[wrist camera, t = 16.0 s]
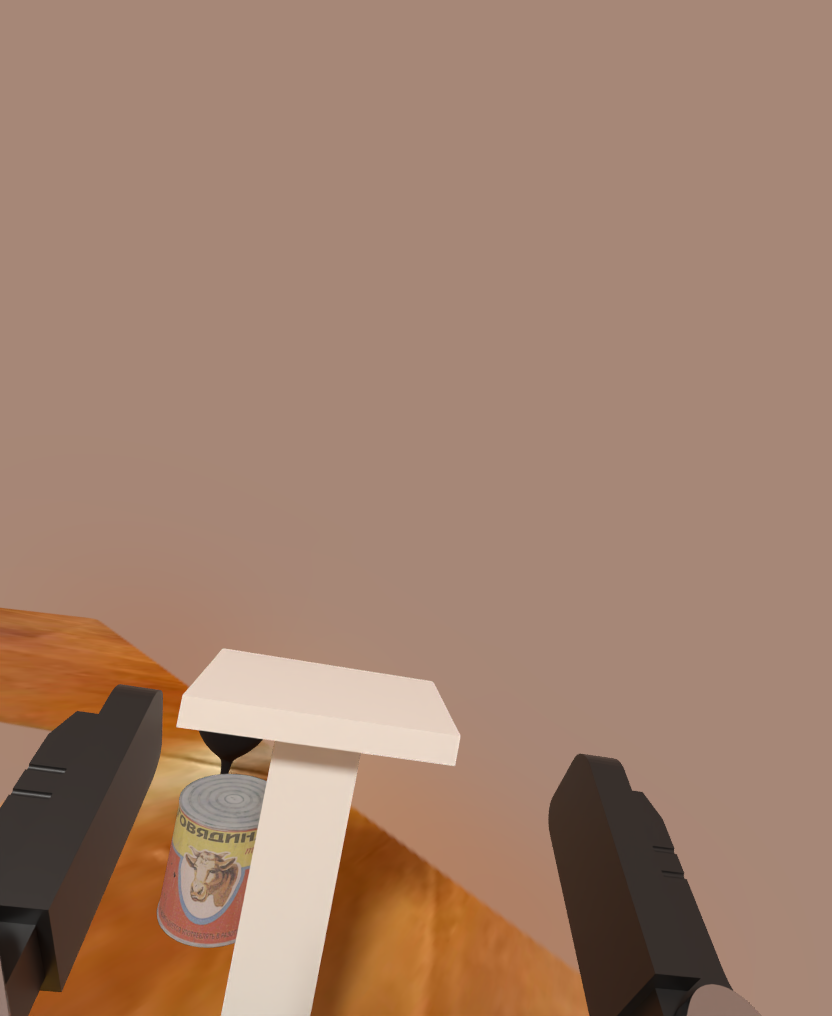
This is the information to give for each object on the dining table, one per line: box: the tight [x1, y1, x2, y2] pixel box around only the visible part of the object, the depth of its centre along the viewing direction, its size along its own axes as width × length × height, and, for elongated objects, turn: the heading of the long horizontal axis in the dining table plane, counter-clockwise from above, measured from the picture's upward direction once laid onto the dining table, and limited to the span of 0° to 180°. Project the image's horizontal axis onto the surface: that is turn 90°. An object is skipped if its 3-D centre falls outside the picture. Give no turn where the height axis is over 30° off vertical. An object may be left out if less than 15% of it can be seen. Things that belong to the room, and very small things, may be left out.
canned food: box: [157, 774, 267, 947], centre depth 63 cm, size 11×11×12 cm
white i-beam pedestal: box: [176, 648, 460, 1016], centre depth 43 cm, size 12×18×32 cm, turn 97°
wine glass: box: [177, 730, 263, 813], centre depth 80 cm, size 10×10×20 cm
